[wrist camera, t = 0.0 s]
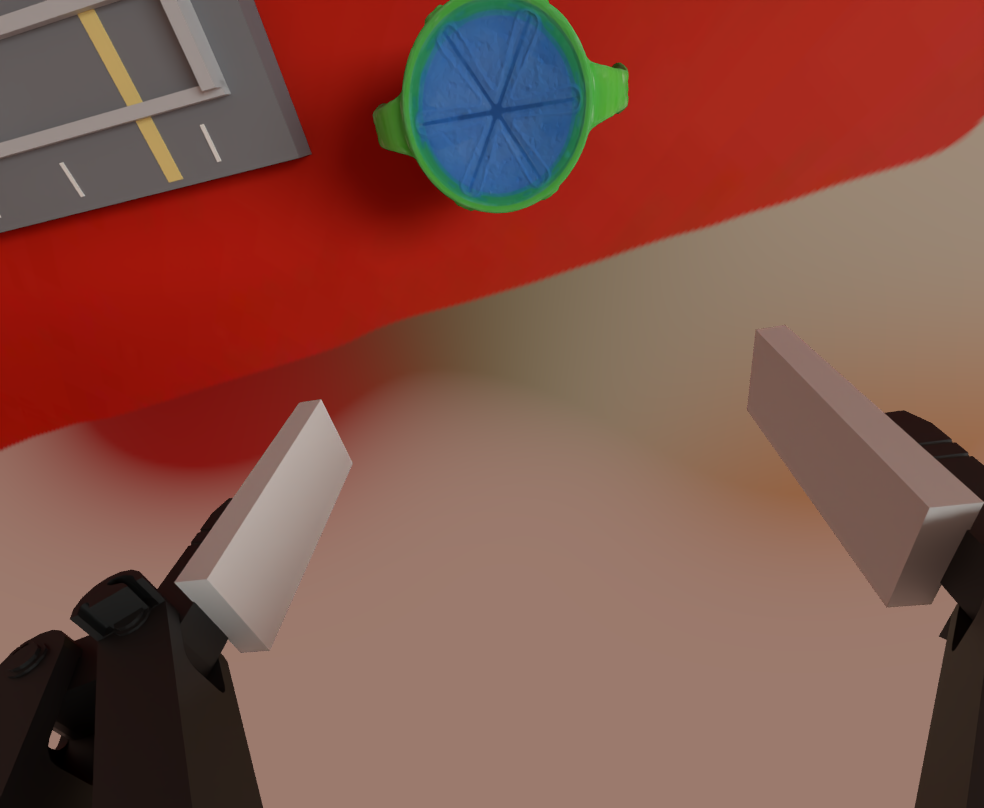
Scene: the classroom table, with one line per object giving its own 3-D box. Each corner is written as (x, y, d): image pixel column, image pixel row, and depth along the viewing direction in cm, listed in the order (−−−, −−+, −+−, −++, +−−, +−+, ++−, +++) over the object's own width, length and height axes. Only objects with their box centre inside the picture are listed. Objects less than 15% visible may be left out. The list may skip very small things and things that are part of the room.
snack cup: (620, 5, 30) (658, -26, 22) (603, 182, 36) (629, 211, 28) (383, 17, 31) (334, -9, 23) (405, 187, 37) (372, 217, 29)
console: (-207, 5, 32) (-289, -5, 29) (198, -147, 27) (154, -179, 24) (-22, 237, 41) (-69, 250, 38) (311, 153, 36) (290, 160, 33)
